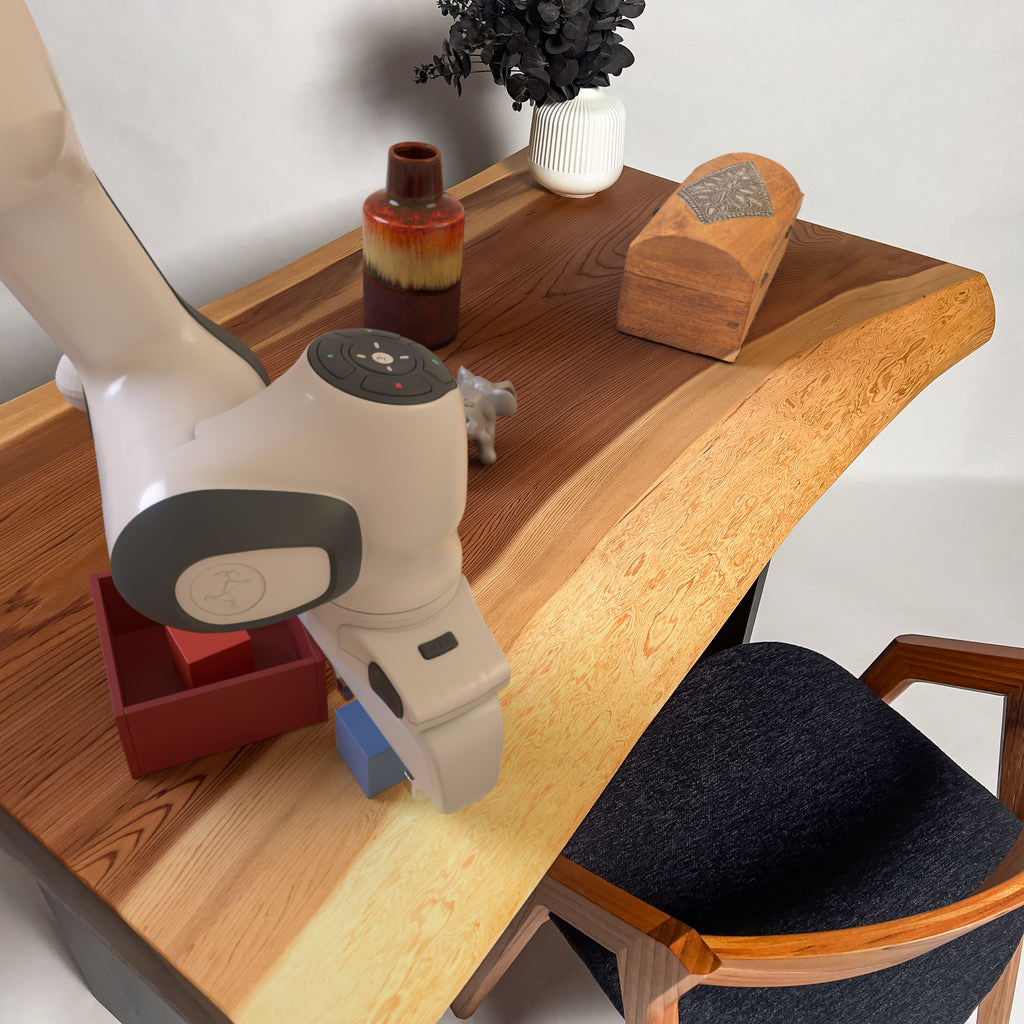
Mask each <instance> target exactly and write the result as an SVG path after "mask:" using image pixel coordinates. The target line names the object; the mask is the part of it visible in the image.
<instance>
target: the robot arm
mask: <svg viewBox="0 0 1024 1024" xmlns="http://www.w3.org/2000/svg"><path fill="white" fill-rule="evenodd" d="M75 125H76V124H75V121H74V117H73V114H72V112H71V108H70V106H69V103H68V100H67V98H66V95H65V92H64V89H63V86H62V84H61V82H60V78H59V76H58V73H57V71H56V68H55V66H54V63H53V61H52V59H51V56H50V54H49V52H48V49H47V46H46V44H45V42H44V40H43V37H42V35H41V33H40V30H39V28H38V26H37V24H36V22H35V20H34V18H33V15H32V14H31V11H30V9H29V7H28V5H27V3H26V1H25V0H0V282H1V283H2V284H3V285H4V286H5V287H6V289H7V290H8V291H9V292H10V293H11V295H13V296H14V298H15V299H16V300H17V301H18V302H19V304H20V305H21V306H22V307H23V308H24V310H25V311H26V312H27V313H28V314H29V315H30V316H31V317H32V318H33V320H34V321H36V323H37V324H38V326H40V328H41V329H42V330H43V331H44V332H45V333H46V335H47V336H48V337H49V338H50V339H51V340H52V341H53V343H54V344H55V345H56V346H57V347H58V348H59V349H60V350H61V352H62V353H63V355H64V354H65V355H66V356H67V357H68V358H69V360H70V361H71V362H72V364H73V366H74V367H75V369H76V371H77V373H78V375H79V377H80V380H81V383H82V388H83V396H84V402H85V408H86V412H85V413H86V417H87V422H88V426H89V431H90V434H91V438H92V442H93V444H94V451H95V458H96V459H95V460H96V463H97V464H96V465H97V472H98V479H99V480H98V481H99V486H100V493H101V509H102V516H103V524H104V533H105V538H106V545H107V553H108V557H109V562H110V563H109V565H110V570H111V575H112V578H113V581H114V584H115V586H116V588H117V590H118V591H119V593H120V594H121V596H122V597H123V598H124V599H125V601H126V602H127V603H128V604H129V605H130V606H132V607H133V608H134V609H135V610H137V611H138V612H140V613H141V614H143V615H144V616H146V617H148V618H150V619H152V620H154V621H156V622H158V623H160V624H163V625H165V626H168V627H171V628H175V629H178V630H182V631H187V632H194V633H228V632H236V631H242V630H248V629H253V628H259V627H263V626H268V625H272V624H275V623H278V622H281V621H284V620H287V619H290V618H292V617H295V616H298V618H299V619H300V620H301V622H302V623H303V624H304V626H305V627H306V629H307V630H308V631H309V633H310V634H311V636H312V637H313V638H314V640H315V641H316V643H317V644H318V645H319V647H320V648H321V651H322V653H323V655H325V657H326V659H327V662H328V665H329V668H330V670H331V672H332V676H333V677H332V678H333V679H332V680H333V687H334V688H335V690H336V691H337V693H338V694H339V695H340V697H341V698H342V700H343V701H345V702H351V701H352V700H354V698H355V699H356V700H358V701H359V702H360V704H361V705H362V707H363V708H364V709H365V711H366V712H367V714H368V715H369V716H370V718H371V719H372V720H373V722H374V723H375V725H376V726H377V727H378V729H379V730H380V732H381V733H382V734H383V736H384V737H385V739H386V740H387V741H388V743H389V744H390V746H391V747H392V748H393V750H394V751H395V752H396V754H397V755H398V757H399V758H400V759H401V761H402V762H403V764H404V765H405V766H406V768H407V769H408V771H406V772H404V780H403V781H404V782H403V786H404V787H405V788H406V790H407V792H408V793H409V794H410V796H411V797H412V800H414V802H416V803H421V802H423V801H425V800H427V799H428V800H429V801H430V803H431V804H432V806H433V808H434V809H435V810H436V811H437V812H438V813H439V814H442V815H454V814H457V813H459V812H461V811H463V810H465V809H467V808H468V807H470V806H472V805H474V804H476V803H477V802H479V801H481V800H482V799H484V798H485V797H487V796H488V795H489V794H491V793H492V791H494V789H495V788H496V786H497V784H498V781H499V777H500V771H501V765H502V759H503V748H504V733H505V720H504V713H503V707H502V704H501V702H500V699H499V695H498V693H499V692H501V691H502V690H504V689H505V688H506V687H508V686H509V685H510V681H511V675H512V674H511V673H512V672H511V665H510V663H509V659H508V658H507V656H506V654H505V653H504V651H503V649H502V648H501V647H500V645H499V643H498V641H497V640H496V638H495V637H494V635H493V633H492V631H491V629H490V628H489V626H488V624H487V622H486V620H485V619H484V617H483V615H482V612H481V611H480V608H479V607H478V606H479V605H478V604H477V602H476V599H475V597H474V593H473V591H472V588H471V585H470V583H469V580H468V579H467V577H466V576H465V574H464V573H462V571H463V570H462V569H463V547H462V543H461V542H462V541H461V538H460V536H459V533H458V527H459V525H460V524H461V522H462V519H463V517H464V513H465V509H466V505H467V499H468V498H467V497H468V475H469V473H468V468H469V467H468V466H469V450H468V449H469V446H468V444H469V443H467V442H468V440H467V425H466V414H465V406H464V401H463V396H462V393H461V389H460V387H459V384H458V382H457V378H456V377H455V376H454V374H453V372H452V371H451V369H449V367H448V366H447V365H446V364H445V363H444V362H443V360H442V359H440V358H439V357H438V356H437V355H436V354H435V353H434V352H432V351H430V350H428V349H427V348H426V347H424V346H423V345H421V344H418V343H416V342H414V341H412V340H409V339H407V338H404V337H402V336H400V335H398V334H395V333H391V332H387V331H382V330H376V329H366V328H364V327H361V328H359V327H357V328H343V329H336V330H331V331H327V332H325V333H323V334H321V335H319V336H318V337H316V338H314V339H313V340H312V341H311V342H309V344H308V345H307V346H306V348H304V350H303V352H302V353H301V355H300V356H299V358H298V359H297V360H296V361H295V362H294V364H293V365H292V366H291V367H289V368H288V369H287V370H286V371H285V372H284V373H283V374H281V375H280V376H279V377H277V378H276V379H275V380H274V381H273V382H271V379H270V378H271V377H270V375H269V373H268V371H267V370H266V367H265V366H264V364H263V362H262V361H261V359H260V358H259V357H258V356H257V355H256V353H255V352H254V351H253V350H252V349H251V348H250V347H249V346H248V345H247V344H246V343H244V342H243V341H242V340H241V339H240V338H238V337H237V336H236V335H234V334H233V333H231V332H230V331H229V330H227V329H226V328H224V327H222V326H221V325H219V324H218V323H216V322H215V321H213V320H212V319H210V318H208V317H207V316H206V315H205V314H202V313H201V312H200V311H199V310H198V309H196V308H194V307H193V306H192V305H191V304H190V303H189V302H187V301H186V300H185V299H184V298H183V297H182V296H181V295H180V293H178V292H177V291H176V290H175V288H174V287H173V286H172V285H171V284H170V283H169V281H168V279H167V278H166V276H165V275H164V274H163V272H162V270H161V269H160V267H159V266H158V265H157V263H156V262H155V260H154V259H153V257H152V256H151V254H150V252H149V251H148V250H147V249H146V247H145V246H144V244H143V242H142V241H141V240H140V238H139V237H138V235H137V234H136V232H135V231H134V229H133V228H132V226H131V225H130V223H129V222H128V220H127V219H126V218H125V216H124V214H123V213H122V212H121V210H120V208H119V207H118V205H117V204H116V203H115V201H114V199H113V198H112V197H111V195H110V194H109V192H108V191H107V189H106V187H105V186H104V184H103V183H102V182H101V180H100V179H99V177H98V175H97V174H96V172H95V171H94V169H93V168H92V167H91V164H90V162H89V160H88V158H87V156H86V153H85V151H84V148H83V146H82V143H81V141H80V138H79V135H78V132H77V129H76V126H75Z"/></svg>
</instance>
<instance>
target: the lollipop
mask: <svg viewBox="0 0 1024 1024" xmlns="http://www.w3.org/2000/svg"><path fill="white" fill-rule="evenodd" d="M54 378H55V384H56V388H57V389H58V390H59V392H60V393H61V395H63V397H64V399H65V400H66V401H67V402H68V403H69V404H70V405H71V406H72V407H74V408H75V409H77V410H79V411H81V412H84V413H86V408H85V402H84V396H83V388H82V383H81V380H80V377H79V375H78V373H77V371H76V369H75V367H74V366H73V364H72V362H71V361H70V360H69V358H68V357H67V356H66V355H65V354H64V353H63V355H62V356H61V358H60V359H59V361H58V364H57V368H56V372H55V375H54Z"/></svg>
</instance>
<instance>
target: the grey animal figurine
mask: <svg viewBox="0 0 1024 1024" xmlns="http://www.w3.org/2000/svg"><path fill="white" fill-rule="evenodd" d="M456 380H457V382H458V384H459V387H460V389H461V393H462V396H463V401H464V406H465V414H466V425H467V443H468V441H472V442H473V445H474V447H475V449H476V451H477V453H478V457H479V460H480V462H481V463H482V464H483V465H486V466H491V465H493V464H494V463H496V461H497V453H496V451H495V439H496V426H497V416H499V417H504V418H510V417H512V416H514V415H515V414H516V412H517V411H518V404H517V402H518V395H517V394H518V393H516V390H515V386H514V385H513V384H512V383H513V382H511V380H504V381H500V382H492V381H489V380H488V379H486V378H485V377H482V376H481V375H475V374H473V373H472V372H471V371H470V370H469V369H467V368H465V367H464V366H463V365H461V366H459V368H458V371H457V374H456ZM468 444H469V443H468Z"/></svg>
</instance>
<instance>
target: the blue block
mask: <svg viewBox="0 0 1024 1024" xmlns="http://www.w3.org/2000/svg"><path fill="white" fill-rule="evenodd" d="M334 723H335V725H334V727H335V745H336V746H335V747H336V749H335V750H336V752H337V754H338V756H339V757H340V758H341V759H342V761H343V763H344V764H345V765H346V768H347V769H348V770H349V772H350V773H351V775H352V776H353V778H354V779H355V781H356V783H357V784H358V785H359V787H360V788H361V790H362V791H363V793H364V794H365V796H366V797H367V798H368V799H371V798H373V797H375V796H377V795H379V794H381V793H383V792H385V791H387V790H389V789H390V788H392V787H394V786H396V785H398V784H399V783H402V782H403V781H405V780H404V772H406V771H408V769H407V768H406V766H405V765H404V764H403V762H402V761H401V759H400V758H399V757H398V755H397V754H396V752H395V751H394V750H393V748H392V747H391V746H390V744H389V743H388V741H387V740H386V739H385V737H384V736H383V734H382V733H381V732H380V730H379V729H378V727H377V726H376V725H375V723H374V722H373V720H372V719H371V718H370V716H369V715H368V714H367V712H366V711H365V709H364V708H363V707H362V705H361V704H360V702H359V701H358V700H357V699H354V700H353V701H349V703H346V704H344V705H342V706H340V707H337V708H336V709H334Z"/></svg>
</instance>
